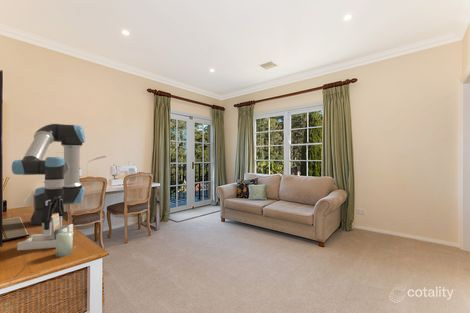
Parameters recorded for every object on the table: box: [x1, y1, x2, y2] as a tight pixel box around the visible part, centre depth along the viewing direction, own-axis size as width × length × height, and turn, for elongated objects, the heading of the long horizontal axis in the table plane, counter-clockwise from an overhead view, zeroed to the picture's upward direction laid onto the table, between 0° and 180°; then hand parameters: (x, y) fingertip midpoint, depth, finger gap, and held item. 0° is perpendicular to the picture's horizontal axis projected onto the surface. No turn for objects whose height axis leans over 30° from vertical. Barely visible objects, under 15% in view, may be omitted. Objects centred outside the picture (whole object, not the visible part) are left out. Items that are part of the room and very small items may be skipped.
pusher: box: [55, 224, 75, 240], centre depth 113 cm, size 8×6×7 cm
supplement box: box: [41, 213, 60, 240], centre depth 112 cm, size 8×5×13 cm, turn 22°
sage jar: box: [55, 231, 74, 258], centre depth 101 cm, size 6×6×9 cm
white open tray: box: [16, 223, 74, 251], centre depth 111 cm, size 11×18×8 cm, turn 105°
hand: (53, 232), depth 112 cm, fingers open, 10 cm apart
